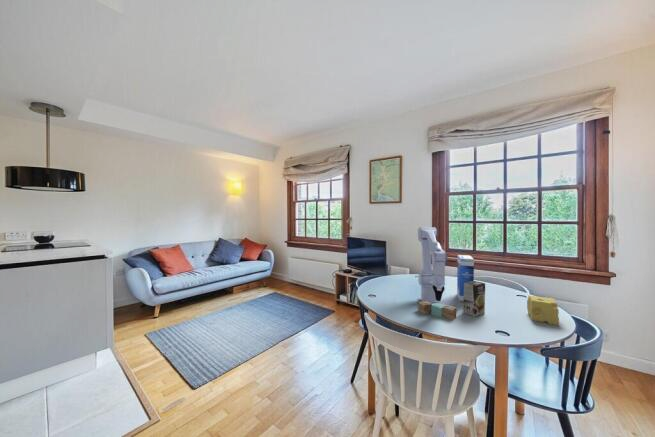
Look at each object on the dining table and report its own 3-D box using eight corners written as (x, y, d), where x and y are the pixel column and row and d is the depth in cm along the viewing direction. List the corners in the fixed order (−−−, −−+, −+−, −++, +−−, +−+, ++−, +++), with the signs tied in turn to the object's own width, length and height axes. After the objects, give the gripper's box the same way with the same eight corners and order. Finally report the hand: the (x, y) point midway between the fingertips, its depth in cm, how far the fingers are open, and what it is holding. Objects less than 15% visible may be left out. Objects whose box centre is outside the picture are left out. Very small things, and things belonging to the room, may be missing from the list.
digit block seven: (446, 314, 128) (446, 304, 128) (456, 317, 125) (456, 307, 124) (442, 317, 125) (442, 307, 125) (452, 320, 121) (452, 310, 121)
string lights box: (473, 303, 144) (474, 259, 143) (458, 301, 146) (459, 258, 145) (469, 295, 156) (470, 255, 155) (456, 294, 159) (457, 254, 158)
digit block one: (426, 310, 134) (426, 300, 133) (432, 313, 129) (432, 304, 129) (417, 310, 132) (418, 301, 132) (423, 314, 128) (423, 304, 127)
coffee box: (474, 317, 125) (475, 285, 124) (462, 312, 130) (463, 282, 130) (485, 313, 129) (486, 283, 128) (473, 309, 135) (473, 280, 134)
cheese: (559, 325, 116) (559, 304, 115) (529, 320, 121) (530, 300, 121) (553, 317, 124) (554, 298, 124) (526, 312, 130) (527, 294, 130)
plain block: (435, 312, 131) (435, 302, 131) (445, 314, 127) (445, 305, 127) (431, 314, 128) (431, 305, 127) (441, 317, 124) (441, 308, 124)
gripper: (430, 270, 135) (429, 294, 136) (430, 277, 122) (430, 304, 122) (444, 271, 132) (443, 296, 133) (446, 278, 119) (445, 306, 119)
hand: (438, 300), depth 127 cm, fingers closed
